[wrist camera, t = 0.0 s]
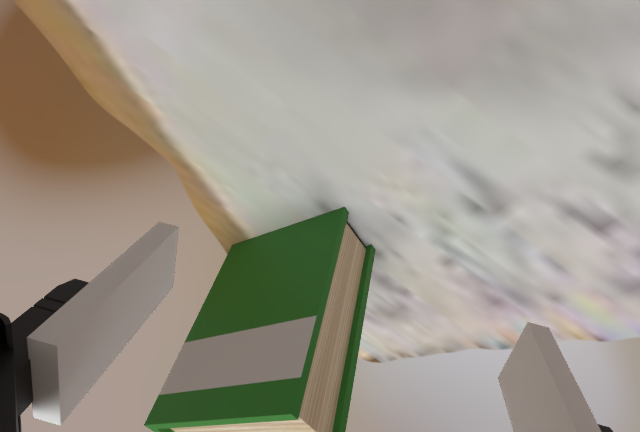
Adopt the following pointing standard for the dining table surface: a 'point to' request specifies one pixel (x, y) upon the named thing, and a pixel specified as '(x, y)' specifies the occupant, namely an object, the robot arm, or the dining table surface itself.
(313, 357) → the hardback book
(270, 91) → the dining table surface
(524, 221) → the dining table surface
